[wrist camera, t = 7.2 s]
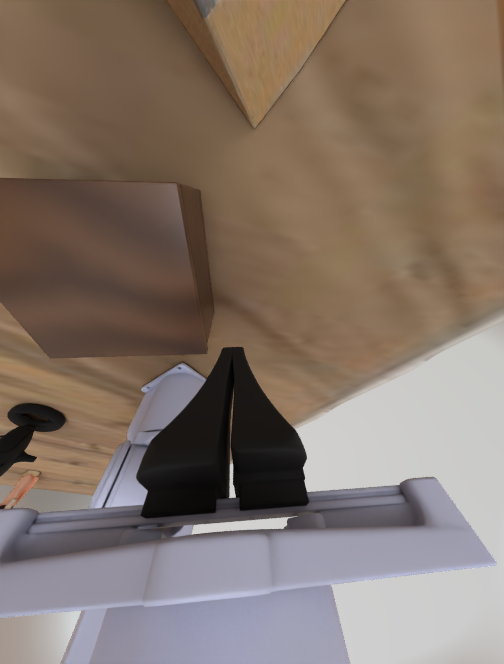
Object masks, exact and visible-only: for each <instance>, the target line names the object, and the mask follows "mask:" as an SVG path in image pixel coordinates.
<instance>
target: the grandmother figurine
mask: <svg viewBox="0 0 504 664" xmlns="http://www.w3.org/2000/svg"><path fill="white" fill-rule="evenodd" d="M39 474H40V472H38V471H31V470H28V471H26V473H23V474H22V477H23V478H21V479H20V480H19V481H18V483H17V484H16V485H15V487H14V488H13V490H12V491H11V493H10V494H9V495H8V496H7V498H6V499H5V500H4V501H3V502H2V503H1V504H0V509H11V508H13V506H14V505H15V504H17V502H19V501H20V499H21V498H22V497H23V496H24V495H25V494H26V493H27V492H28V491H29V490H30V489H31V488H32V487H33V485H34V484H35V483H36V482H37V481H38V479H39V478H38V477H37V476H38V475H39Z"/></svg>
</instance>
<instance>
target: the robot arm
mask: <svg viewBox="0 0 504 664" xmlns="http://www.w3.org/2000/svg"><path fill="white" fill-rule="evenodd" d="M180 367H181V368H180ZM141 390H142V391H143V392H145V393H146V394H145V396H144V398H143V400H142V402H141V404H140V406H139V408H138V410H137V412H136V414H135V416H134V418H133V420H132V422H131V424H130V427H129V429H128V434H127V440H126V441H125V442H124V443H122V444H120V445H119V446H118V447H117V449H116V451H115V453H114V455H113V457H112V459H111V461H110V463H109V465H108V467H107V469H106V471H105V473H104V475H103V477H102V479H101V481H100V483H99V485H98V487H97V489H96V491H95V494H94V496H93V498H92V500H91V502H90V505H89V507H88V509H82V510H70V511H57V512H43V513H38V511H36V510H33V509H29V508H11V509H0V618H3V617H15V616H26V615H37V614H48V613H57V612H58V613H59V612H70V611H80V610H82V611H81V614H80V617H79V619H78V621H77V624H76V626H75V629H74V631H73V634H72V636H71V639H70V641H69V644H68V646H67V649H66V652H65V654H64V656H63V659H62V661H61V664H350V661H349V657H348V653H347V649H346V645H345V640H344V636H343V632H342V628H341V624H340V620H339V616H338V611H337V607H336V603H335V599H334V595H333V591H332V587H331V584H340V583H348V582H356V581H365V580H374V579H382V578H391V577H398V576H408V575H417V574H425V573H434V572H442V571H451V570H460V569H468V568H478V567H488V566H496V561H495V560H494V558H493V557H492V556H491V554H490V553H489V552H488V550H487V549H486V547H485V546H484V544H483V543H482V542H481V540H480V539H479V537H478V536H477V534H476V533H475V532H474V530H473V529H472V528H471V526H470V525H469V523H468V522H467V521H466V519H465V518H464V516H463V515H462V514H461V512H460V511H459V509H458V508H457V507H456V505H455V504H454V502H453V501H452V500H451V499H450V497H449V495H448V494H447V493H446V491H445V490H444V488H443V487H442V486H441V484H440V483H439V482H438V480H437V479H436V478H435V477H425V478H412V479H407V480H405V481H403V482H401V483H400V485H396V486H382V487H369V488H356V489H343V490H330V491H317V492H307V491H306V487H305V482H304V480H305V476H304V472H303V466H304V464H305V462H306V459H307V456H306V452H305V449H304V446H303V444H302V442H301V439H300V438H299V436H298V433H297V432H296V430H295V429H294V428H293V427H292V426H291V425H290V424H289V423H288V422H287V421H286V420H285V419H284V418H283V416H282V415H281V414H280V413H279V412H278V411H277V409H276V408H275V407H274V406H273V404H272V403H271V402H270V400H269V399H268V398H267V396H266V395H265V394H264V392H263V391H262V389H261V387H260V386H259V384H258V383H257V381H256V379H255V377H254V375H253V373H252V371H251V369H250V367H249V365H248V362H247V360H246V357H245V353H244V348H243V347H226V348H223V349H222V351H221V354H220V356H219V358H218V361H217V363H216V364H215V366H214V368H213V370H212V372H211V373H210V375H209V376H208V378H207V379H205V378H204V377H203V376H201V375H200V374H199V373H197V372H196V371H194V370H193V369H192V368H190V367H189V366H188V365H186V364H185V363H179V364H178V365H176V366H175V367H173V368H172V369H170V370H168V371H167V372H165V373H164V374H162V375H161V376H159V377H157V378H156V379H154V380H153V381H151V382H150V383H148V384H146V385H145V386H143V387H142V389H141ZM233 390H234V402H233V419H232V432H231V452H232V459H233V485H234V488H235V494H236V498H229V480H230V479H229V478H230V477H229V474H230V419H231V408H232V399H233ZM293 516H298V517H293ZM281 517H293V518H289V519H288V520H287V526H286V527H284V529H261V530H239V531H224V532H213V533H203V534H194V535H191V533H192V529H193V526H194V525H197V524H209V523H221V522H233V521H245V520H256V519H269V518H281Z"/></svg>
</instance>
